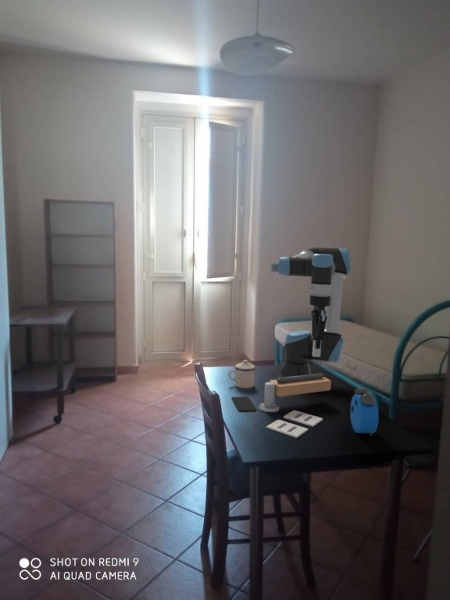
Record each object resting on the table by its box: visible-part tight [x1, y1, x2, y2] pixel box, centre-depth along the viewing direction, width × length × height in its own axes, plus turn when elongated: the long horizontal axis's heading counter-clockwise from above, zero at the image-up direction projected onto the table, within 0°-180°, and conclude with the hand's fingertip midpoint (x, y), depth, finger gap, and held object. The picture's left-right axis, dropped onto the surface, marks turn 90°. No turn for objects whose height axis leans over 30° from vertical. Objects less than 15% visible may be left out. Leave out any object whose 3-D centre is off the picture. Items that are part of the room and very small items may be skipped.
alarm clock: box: [349, 386, 379, 437], centre depth 156 cm, size 13×6×15 cm, turn 0°
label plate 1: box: [266, 419, 309, 439], centre depth 157 cm, size 8×12×1 cm, turn 52°
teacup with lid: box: [227, 359, 256, 389], centre depth 200 cm, size 12×9×12 cm
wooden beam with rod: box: [263, 372, 332, 408], centre depth 179 cm, size 28×8×11 cm, turn 114°
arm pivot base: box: [258, 402, 280, 414], centre depth 175 cm, size 8×8×1 cm
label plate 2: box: [283, 409, 324, 427], centre depth 166 cm, size 8×12×1 cm, turn 52°
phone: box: [231, 396, 257, 413], centre depth 179 cm, size 7×1×15 cm
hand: (316, 356), depth 171 cm, fingers closed
